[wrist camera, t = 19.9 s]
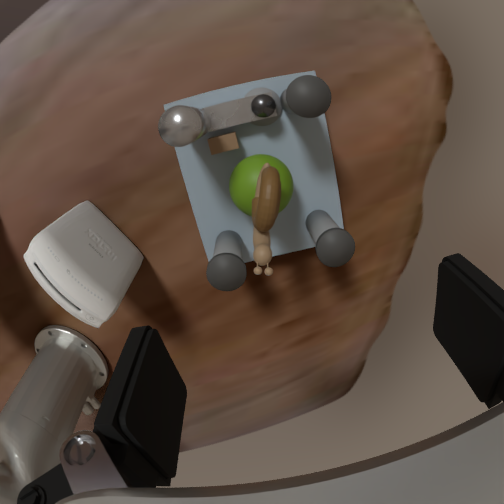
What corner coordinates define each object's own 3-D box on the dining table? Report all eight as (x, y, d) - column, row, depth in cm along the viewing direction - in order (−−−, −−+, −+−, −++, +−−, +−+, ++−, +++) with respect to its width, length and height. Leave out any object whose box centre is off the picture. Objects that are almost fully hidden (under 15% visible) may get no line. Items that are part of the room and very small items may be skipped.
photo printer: (151, 257, 35) (116, 322, 24) (128, 279, 36) (90, 346, 25) (88, 192, 32) (26, 232, 20) (68, 218, 33) (7, 265, 21)
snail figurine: (227, 215, 31) (218, 274, 20) (232, 148, 28) (225, 168, 17) (284, 220, 31) (306, 279, 20) (292, 154, 29) (322, 178, 18)
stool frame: (338, 231, 34) (367, 268, 26) (213, 259, 35) (205, 305, 27) (309, 73, 28) (334, 59, 19) (169, 105, 28) (142, 102, 20)
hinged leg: (269, 89, 26) (280, 79, 18) (276, 119, 27) (290, 120, 19) (177, 113, 26) (153, 112, 19) (184, 142, 27) (164, 152, 20)
